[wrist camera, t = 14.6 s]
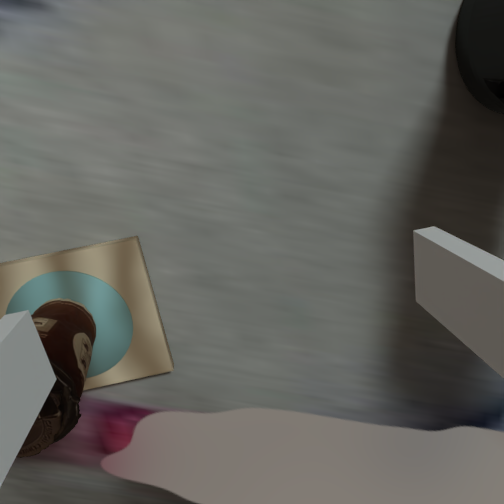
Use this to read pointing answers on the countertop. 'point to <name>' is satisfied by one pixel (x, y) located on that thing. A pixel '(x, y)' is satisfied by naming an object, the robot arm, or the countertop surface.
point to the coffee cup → (61, 369)
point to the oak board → (98, 304)
